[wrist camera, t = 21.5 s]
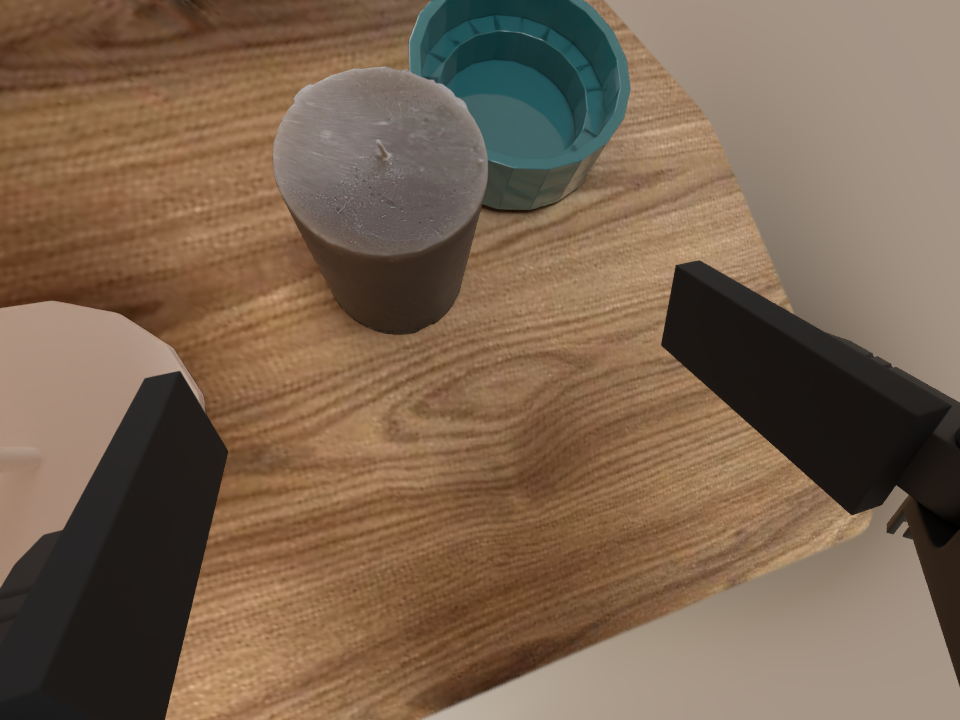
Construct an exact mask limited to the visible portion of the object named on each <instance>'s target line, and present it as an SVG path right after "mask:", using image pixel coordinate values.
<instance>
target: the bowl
mask: <svg viewBox="0 0 960 720" xmlns="http://www.w3.org/2000/svg"><path fill="white" fill-rule="evenodd" d="M409 71H410V72H411V73H413V74H416V75H417V76H420V77H422V78H425V79H427V80H434V82H435V83H437V84H442V85H444V86H446V87H447V88H448V89H450V90H451V91H452V92H453V93H454V95H455V97H457V98H460V99H461V100H463V101H464V102H465V103H466V106H467V109H468V111H469V112H470V114H471V116H472V117H473V118H474V120H475V122H476V124H477V125H478V127H479V129H480V132H481V134H482V136H483V139H484V143H485V147H486V151H487V159H488V181H487V187H486V190H485V194H484V197H483V201H482V204H483V205H486V206H490V207H493V208H496V209H508V210H531V209H535V208H538V207H542V206H545V205H548V204H552V203H555V202H558V201H559V200H561V199H562V198H564V197H565V196H566V195H568V194H569V193H571V192H572V191H573V190H575V189H576V188H578V187H579V186H580V185H581V184H582V182H583V181H584V179H585V178H586V177H587V175H588V174H589V172H590V171H591V169H592V168H593V166H594V165H595V163H596V162H597V160H598V158H599V157H600V155H601V154H602V152H603V151H604V149H605V147H606V146H607V144H608V143H609V141H610V140H611V138H612V137H613V135H614V133H615V132H616V130H617V129H618V127H619V126H620V124H621V122H622V121H623V119H624V116H625V112H626V108H627V103H628V99H629V94H630V80H629V72H628V65H627V60H626V57H625V54H624V52H623V50H622V48H621V46H620V44H619V42H618V40H617V37H616V35H615V33H614V31H613V30H612V28H611V27H610V26H609V25H608V24H607V23H606V22H605V20H604V19H603V18H602V17H601V16H600V15H599V13H598V12H597V11H596V10H595V9H594V8H593V7H592V6H591V5H590V4H588V3H587V2H585V1H584V0H431V1H430V3H429V4H428V5H427V6H426V7H425V8H424V9H423V10H422V11H421V13H420V14H419V16H418V19H417V21H416V24H415V27H414V30H413V32H412V35H411V38H410V41H409Z"/></svg>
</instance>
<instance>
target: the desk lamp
mask: <svg viewBox="0 0 960 720" xmlns="http://www.w3.org/2000/svg"><path fill="white" fill-rule="evenodd" d="M176 371H181V373H182V374H183V376H184V378H185V379H186V381H187V383H188V385H189V386H190V388H191V390H192V391H193V393H194V395H195V396H196V398H197V400H198V401H199V403H200V405H201V406H202V408H203V410H204V411H205V413H206V410H205V402H204V395H203V394H202V392H201V391H200V389H199V388H198V386H197V385H196V383H195V381H194V380H193V378H192V377H191V375H190V374H189V372H188V370H187V369H186V367H185V366H184V364H183V363H182V361H181V360H180V358H179V356H178V355H177V353H176V352H175V350H174V349H173V348H172V347H171V346H169V345H168V344H166V343H165V342H163V341H162V340H160V339H158V338H157V337H155V336H154V335H152V334H151V333H149V332H148V331H146V330H145V329H143V328H141V327H140V326H138V325H137V324H135V323H134V322H132V321H131V320H129V319H127V318H126V317H124V316H122V315H120V314H118V313H115V312H109V311H104V310H99V309H94V308H89V307H83V306H78V305H73V304H68V303H63V302H57V301H46V302H39V303H33V304H26V305H19V306H12V307H6V308H0V588H1V586H2V584H3V583H4V581H5V579H6V578H7V576H8V574H9V573H10V571H11V569H12V568H13V566H14V564H15V563H16V562H17V561H18V560H19V559H20V558H21V557H22V556H23V555H24V554H25V553H26V552H27V551H28V550H29V549H30V548H31V547H32V546H33V545H34V544H35V543H36V542H37V541H38V540H39V539H40V538H41V537H42V536H43V535H45V534H48V533H52V532H56V531H60V530H63V528H64V527H65V525H66V523H67V521H68V519H69V517H70V516H71V514H72V512H73V510H74V508H75V506H76V504H77V503H78V501H79V499H80V497H81V495H82V493H83V491H84V490H85V488H86V486H87V484H88V482H89V480H90V478H91V477H92V475H93V473H94V471H95V469H96V467H97V466H98V464H99V462H100V460H101V458H102V456H103V454H104V453H105V451H106V449H107V447H108V445H109V443H110V441H111V440H112V438H113V436H114V434H115V432H116V430H117V428H118V427H119V425H120V423H121V421H122V419H123V417H124V416H125V414H126V412H127V410H128V408H129V406H130V404H131V403H132V401H133V399H134V397H135V395H136V393H137V391H138V390H139V388H140V386H141V384H142V382H143V380H144V378H148V377H153V376H157V375H162V374H167V373H171V372H176Z"/></svg>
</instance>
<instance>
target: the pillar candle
mask: <svg viewBox="0 0 960 720" xmlns="http://www.w3.org/2000/svg"><path fill="white" fill-rule="evenodd" d="M273 166H274V175H275V180H276V184H277V186H278V188H279V191H280V193H281V195H282V197H283V199H284V201H285V203H286V205H287V207H288V209H289V211H290V213H291V215H292V217H293V219H294V221H295V223H296V225H297V227H298V229H299V231H300V232H301V234H302V237H303V238H304V240H305V242H306V244H307V247H308V249H309V250H310V252H311V253H312V255H313V258H314V260H315V261H316V263H317V264H318V267H319V269H320V271H321V273H322V275H323V276H324V278H325V280H326V282H327V284H328V286H329V288H330V289H331V291H332V294H333V295H334V297H335V299H336V301H337V302H338V303H339V305H340V306H341V307H342V308H343V309H344V310H345V311H346V313H347V314H348V315H349V316H351V317H352V318H353V319H354V320H355V321H357V322H358V323H360V324H362V325H363V326H365V327H368V328H369V327H370V328H371V329H373V330H374V331H378V332H383V333H387V334H409V333H415V332H418V331H419V330H420V329H422V328H424V327H426V326H428V325H430V324H434V323H436V322H437V321H438V320H440V319H441V318H442V317H443V316H444V315H445V314H446V313H447V312H448V311H449V309H450V308H451V307H452V305H453V303H454V301H455V299H456V298H457V295H458V293H459V290H460V287H461V283H462V279H463V276H464V272H465V268H466V264H467V260H468V256H469V252H470V249H471V245H472V241H473V237H474V233H475V229H476V225H477V222H478V218H479V214H480V210H481V206H482V201H483V197H484V194H485V190H486V187H487V181H488V159H487V151H486V147H485V143H484V139H483V136H482V134H481V132H480V129H479V127H478V125H477V124H476V122H475V120H474V118H473V117H472V116H471V114H470V112H469V111H468V109H467V106H466V103H465V102H464V101H463V100H461V99H460V98H457V97H455V95H454V93H453V92H452V91H451V90H450V89H448V88H447V87H446V86H444V85H442V84H437V83H435V82H434V80H427V79H425V78H422V77H420V76H417V75H416V74H413V73H411V72H410V71H407V70H405V69H403V70H402V71H398V70H394V69H392V68H390V67H384V66H383V67H380V68H378V67H377V68H365V69H359V68H355V69H353V70H349V71H345V72H341V73H339V74H335V75H332V76H328V77H327V78H325V79H324V80H321V81H319V82H317V83H316V84H315V85H310V84H309V83H308V85H307V86H306V87H304V88H302V89H301V90H300V91H299V92H298V93H297V94H296V96H295V98H294V104H293V105H292V106H291V107H290V109H288V112H287V114H286V115H285V116H284V117H283V119H282V121H281V124H280V126H279V129H278V132H277V135H276V138H275V141H274V146H273Z"/></svg>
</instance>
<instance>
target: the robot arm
mask: <svg viewBox="0 0 960 720" xmlns="http://www.w3.org/2000/svg"><path fill="white" fill-rule="evenodd" d="M661 346H662V347H664V348H665V349H666V350H667V351H668V352H669V353H670V354H671V355H673V356H674V357H675V358H676V359H677V360H678V361H679V362H680V363H682V364H683V365H684V366H685V367H686V368H687V369H688V370H689V371H690V372H692V373H693V374H694V375H695V376H696V377H697V378H698V379H699V380H701V381H702V382H703V383H704V384H705V385H706V386H707V387H708V388H710V389H711V390H712V391H713V392H714V393H715V394H716V395H717V396H718V397H720V398H721V399H722V400H723V401H724V402H725V403H726V404H727V405H729V406H730V407H731V408H732V409H733V410H734V411H735V412H736V413H738V414H739V415H740V416H741V417H742V418H743V419H744V420H745V421H747V422H748V423H749V424H750V425H751V426H752V427H753V428H754V429H755V430H757V431H758V432H759V433H760V434H761V435H762V436H763V437H764V438H766V439H767V440H768V441H769V442H770V443H771V444H772V445H773V446H775V447H776V448H777V449H778V450H779V451H780V452H781V453H782V454H783V455H785V456H786V457H787V458H788V459H789V460H790V461H791V462H792V463H794V464H795V465H796V466H797V467H798V468H799V469H800V470H801V471H803V472H804V473H805V474H806V475H807V476H808V477H809V478H810V479H812V480H813V481H814V482H815V483H816V484H817V485H818V486H819V487H820V488H822V489H823V490H824V491H825V492H826V493H827V494H828V495H829V496H831V497H832V498H833V499H834V500H835V501H836V502H837V503H838V504H840V505H841V506H842V507H843V508H844V509H845V510H846V511H847V512H848V513H850V514H851V515H854V514H857V513H860V512H863V511H866V510H869V509H872V508H874V507H877V506H880V505H882V504H883V503H884V501H885V500H886V499H887V497H888V496H889V494H890V493H891V492H892V490H893V489H894V487H895V486H896V485H897V486H898V487H900V488H901V489H902V490H903V491H905V492H906V493H907V494H909V495H908V497H907V498H906V499H905V501H904V502H903V503H902V505H901V506H900V507H899V509H898V510H897V511H896V513H895V514H894V515H893V517H892V518H891V519H890V521H889V522H888V523H887V533H891V534H894V533H895V532H896V530H897V529H898V528H899V526H900V525H901V524H902V523H903V522H908V525H909V527H908V528H907V530H906V531H905V533H904V534H903V537H905V538H910V539H913V541H914V544H915V547H916V551H917V554H918V557H919V560H920V563H921V566H922V569H923V573H924V576H925V579H926V582H927V585H928V588H929V591H930V595H931V598H932V601H933V604H934V607H935V610H936V613H937V617H938V620H939V623H940V626H941V629H942V632H943V635H944V639H945V642H946V645H947V648H948V651H949V654H950V657H951V660H952V663H953V667H954V670H955V673H956V676H957V679H958V682H959V686H960V402H958V401H956V400H954V399H952V398H950V397H949V396H947V395H945V394H943V393H941V392H940V391H938V390H936V389H935V388H933V387H931V386H929V385H928V384H926V383H924V382H922V381H920V380H919V379H917V378H915V377H913V376H911V375H910V374H908V373H906V372H904V371H903V370H901V369H899V368H897V367H894V368H893V367H892V366H891V364H890V363H888V362H887V361H885V360H883V359H881V358H880V357H874V356H873V354H872V353H871V352H869V351H867V350H865V349H863V348H862V347H860V346H858V345H857V344H854V343H853V342H851V341H848V340H846V339H843V338H840V337H837V336H834V335H831V334H828V333H825V332H823V331H822V330H820V329H818V328H816V327H814V326H813V325H811V324H809V323H808V322H806V321H804V320H802V319H801V318H799V317H797V316H796V315H794V314H792V313H790V312H789V311H787V310H785V309H783V308H782V307H780V306H778V305H776V304H775V303H773V302H771V301H769V300H768V299H766V298H764V297H762V296H761V295H759V294H757V293H755V292H754V291H752V290H750V289H749V288H747V287H745V286H743V285H742V284H740V283H738V282H736V281H735V280H733V279H731V278H729V277H728V276H726V275H724V274H722V273H721V272H719V271H717V270H715V269H714V268H712V267H710V266H708V265H707V264H705V263H703V262H702V261H700V260H699V261H694V262H689V263H685V264H680V265H676V268H675V273H674V278H673V284H672V289H671V295H670V300H669V305H668V311H667V316H666V322H665V327H664V332H663V338H662V343H661ZM227 455H228V450H227V448H226V447H225V445H224V443H223V442H222V440H221V438H220V437H219V435H218V433H217V432H216V430H215V428H214V427H213V425H212V423H211V422H210V420H209V418H208V417H207V415H206V413H205V411H204V410H203V408H202V406H201V405H200V403H199V401H198V400H197V398H196V396H195V395H194V393H193V391H192V390H191V388H190V386H189V385H188V383H187V381H186V379H185V378H184V376H183V374H182V373H181V371H176V372H171V373H167V374H162V375H157V376H153V377H148V378H144V380H143V382H142V384H141V386H140V388H139V390H138V391H137V393H136V395H135V397H134V399H133V401H132V403H131V404H130V406H129V408H128V410H127V412H126V414H125V416H124V417H123V419H122V421H121V423H120V425H119V427H118V428H117V430H116V432H115V434H114V436H113V438H112V440H111V441H110V443H109V445H108V447H107V449H106V451H105V453H104V454H103V456H102V458H101V460H100V462H99V464H98V466H97V467H96V469H95V471H94V473H93V475H92V477H91V478H90V480H89V482H88V484H87V486H86V488H85V490H84V491H83V493H82V495H81V497H80V499H79V501H78V503H77V504H76V506H75V508H74V510H73V512H72V514H71V516H70V517H69V519H68V521H67V523H66V525H65V527H64V528H63V530H60V531H56V532H52V533H48V534H45V535H43V536H42V537H41V538H40V539H39V540H38V541H37V542H36V543H35V544H34V545H33V546H32V547H31V548H30V549H29V550H28V551H27V552H26V553H25V554H24V555H23V556H22V557H21V558H20V559H19V560H18V561H17V562H16V563H15V564H14V566H13V568H12V569H11V571H10V573H9V574H8V576H7V578H6V579H5V581H4V583H3V584H2V586H1V588H0V720H165V716H166V712H167V708H168V704H169V700H170V695H171V691H172V687H173V683H174V678H175V674H176V670H177V666H178V662H179V657H180V653H181V649H182V645H183V640H184V636H185V632H186V628H187V624H188V619H189V615H190V611H191V607H192V603H193V598H194V594H195V590H196V586H197V581H198V577H199V573H200V569H201V565H202V560H203V556H204V552H205V548H206V543H207V539H208V535H209V531H210V527H211V522H212V518H213V514H214V510H215V505H216V501H217V497H218V493H219V489H220V484H221V480H222V476H223V472H224V467H225V463H226V459H227Z"/></svg>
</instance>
